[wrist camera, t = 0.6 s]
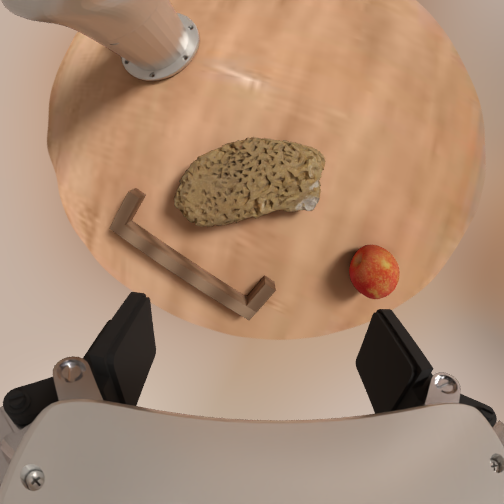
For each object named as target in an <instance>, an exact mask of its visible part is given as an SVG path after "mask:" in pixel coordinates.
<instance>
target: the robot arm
mask: <svg viewBox="0 0 504 504" xmlns="http://www.w3.org/2000/svg"><path fill="white" fill-rule="evenodd" d="M2 3H3V4H4V6H5V7H6V8H7V9H8V10H9V11H10V12H12V13H14V14H15V15H17V16H20V17H23V18H26V19H29V20H33V21H39V22H47V23H54V24H59V25H63V26H66V27H69V28H72V29H74V30H76V31H78V32H80V33H82V34H84V35H86V36H88V37H89V38H91V39H93V40H95V41H96V42H98V43H100V44H102V45H103V46H105V47H107V48H108V49H110V50H112V51H113V52H115V53H117V54H118V55H120V56H121V59H122V63H123V65H124V67H125V69H126V70H127V71H128V73H130V74H131V75H133V76H134V77H136V78H138V79H141V80H145V81H157V80H162V79H166V78H168V77H171V76H173V75H175V74H177V73H178V72H180V71H181V70H182V69H184V68H185V67H186V66H187V65H188V64H189V63H190V62H191V61H192V59H193V58H194V56H195V54H196V52H197V50H198V47H199V41H200V39H199V32H198V29H197V27H196V25H195V24H194V22H193V21H192V20H191V19H190V18H188V17H187V16H185V15H183V14H180V13H176V11H175V9H174V8H173V6H172V4H171V3H170V1H169V0H2ZM191 29H192V30H191ZM186 58H188V59H187V60H185V59H186ZM128 62H129V63H128ZM153 75H155V76H154V77H153ZM155 354H156V346H155V338H154V331H153V322H152V314H151V304H150V298H148V297H146V295H145V294H144V293H137V292H131V293H130V294H129V296H128V297H127V299H126V300H125V301H124V303H123V304H122V305H121V307H120V308H119V310H118V311H117V312H116V314H115V315H114V317H113V318H112V320H109V321H108V322H107V324H106V325H105V326H104V328H103V329H102V331H101V332H100V333H99V335H98V336H97V338H96V339H95V341H94V342H93V344H92V345H91V347H90V348H89V350H88V352H87V353H86V354H85V356H84V358H83V359H82V358H80V357H67V358H64V359H62V360H60V361H59V362H58V363H57V364H56V365H55V366H54V369H53V377H51V378H48V379H45V380H41V381H38V382H35V383H32V384H28V385H25V386H21V387H18V388H15V389H13V390H11V391H10V392H9V393H7V395H6V396H5V398H4V401H3V406H2V407H0V504H504V424H503V423H502V422H501V421H498V423H496V415H495V412H494V411H493V409H492V408H491V407H489V406H487V405H485V404H483V403H481V402H478V401H476V400H474V399H471V398H469V397H467V396H464V395H462V394H460V390H461V389H460V384H459V382H458V381H457V379H456V378H454V377H453V376H452V375H450V374H447V373H444V372H439V373H436V374H434V375H432V374H431V372H432V370H433V367H432V366H431V364H430V363H429V361H428V360H427V358H426V357H425V356H424V354H423V353H422V351H421V350H420V348H419V347H418V346H417V344H416V343H415V341H414V340H413V339H412V337H411V336H410V334H409V333H408V332H407V330H406V329H405V327H404V326H403V325H402V323H401V322H400V321H399V319H398V318H397V317H396V316H395V314H394V313H393V312H392V310H390V309H379V310H377V312H376V313H374V314H373V315H372V318H371V321H370V324H369V327H368V330H367V332H366V335H365V338H364V341H363V343H362V346H361V349H360V351H359V353H358V356H357V359H356V367H357V370H358V372H359V375H360V377H361V379H362V382H363V384H364V387H365V389H366V392H367V394H368V396H369V399H370V401H371V404H372V406H373V409H374V412H375V414H370V415H362V416H353V417H343V418H331V419H317V420H291V421H290V420H289V421H287V420H286V421H272V420H270V421H268V420H241V419H225V418H213V417H204V416H195V415H187V414H180V413H173V412H166V411H159V410H154V409H148V408H143V407H138V406H136V405H137V402H138V399H139V397H140V394H141V391H142V388H143V386H144V383H145V381H146V378H147V375H148V373H149V370H150V368H151V365H152V362H153V360H154V357H155Z"/></svg>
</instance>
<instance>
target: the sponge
mask: <svg viewBox="0 0 504 504" xmlns="http://www.w3.org/2000/svg"><path fill="white" fill-rule="evenodd" d="M324 165H325V158H324V156H323V155H322V154H321V153H320V151H318V150H316V149H314V148H312V147H309V146H304V145H301V144H298V143H293V142H288V141H284V140H283V141H279V140H272V139H265V138H264V139H259V138H250V139H249V138H246V139H245V140H241V141H237V142H232V143H227V144H225V145H223V146H222V148H218V149H215V150H212V151H210V152H208V153H206V154H204V155H202V156H199V157H198V158H197V160H195V161H194V162H193V163H192V164H191V165H190V168H189V169H188V170H186V172H185V174H184V176H182V179H181V180H180V181H179V182H180V186H179V187H178V190H177V193H176V195H175V197H174V201H175V203H174V205H175V207H176V208H178V209H179V210H180V211H181V212H182V214H183V216H184V217H186V218H187V219H188V220H189V221H190V222H191V223H194V222H195V225H196V226H200V227H205V226H207V227H213V226H214V225H217V226H221V225H227V224H231V223H233V222H236V223H237V222H239V221H240V220H243V219H245V218H250V217H254V218H258V217H260V216H262V215H265V214H268V213H270V212H273V211H275V210H283V211H286V212H292V211H300V210H306V211H312V210H313V209H314V208H315V206H316V204H317V203H318V201H319V198H320V191H321V190H320V186H321V185H320V182H319V180H320V178H321V173H322V170H324Z"/></svg>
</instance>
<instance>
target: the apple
mask: <svg viewBox="0 0 504 504" xmlns="http://www.w3.org/2000/svg"><path fill="white" fill-rule="evenodd" d="M349 274H350V279H351V282H352V283H353V285H354V287H355V288H356V289H357V290H358V291H359V292H360V293H362V294H363V295H365V296H366V297H368V298H371V299H380V298H383V297H386V296H387V295H389V294H390V293H391V292H392V291H393V290H394V289H395V287H396V285H397V283H398V280H399V267H398V264H397V262H396V260H395V258H394V257H393V256H392V254H391V253H390V252H388V251H387V250H385V249H384V248H382V247H379V246H376V245H365V246H363V247H361V248H360V249H359V250H358V251H357V252H356V253H355V255H354V257H353V259H352V261H351V263H350V268H349Z"/></svg>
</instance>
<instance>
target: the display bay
mask: <svg viewBox="0 0 504 504" xmlns="http://www.w3.org/2000/svg"><path fill="white" fill-rule="evenodd" d="M145 196H146V195H145V194H144V193H143V192H141V191H140V190H138V189H137V188H135V189H133V190H130V191H129V192H128V193H127V195H126V197H125V199H124V201H123V203H122V205H121V207H120V209H119V211H118V213H117V215H116V217H115V219H114V221H113V223H112V225H111V227H110V229H111V230H112V231H113V232H115V233H116V234H117V235H119V236H120V237H122V238H123V239H124V240H126V241H127V242H129V243H130V244H132V245H133V246H134V247H136V248H137V249H139V250H140V251H142V252H143V253H144V254H146V255H147V256H149V257H150V258H152V259H153V260H155V261H156V262H158V263H159V264H161V265H162V266H163V267H165V268H166V269H168V270H169V271H171V272H172V273H174V274H176V275H177V276H179V277H180V278H182V279H183V280H185V281H186V282H188V283H189V284H191V285H192V286H194V287H196V288H197V289H199V290H200V291H202V292H203V293H205V294H207V295H208V296H210V297H211V298H213V299H215V300H216V301H218V302H219V303H221V304H223V305H224V306H226V307H228V308H229V309H231V310H232V311H234V312H236V313H237V314H239V315H241V316H242V317H244V318H246V319H247V320H250V319H251V318H252V317H253V316H254V315H255V314H256V312H257V311H258V310H259V309H260V308H261V307H262V306H263V305H264V303H265V302H266V301H267V300H268V299H269V298H270V297H271V295H272V294H273V293H274V292H275V291H276V289H275V283H274V281H272V280H271V279H269V278H268V277H266V276H264V277H263V278H262V279H261V280H260V282H259V283H258V284H257V285H256V286H255V288H254V289H253V290H252V291H251V292H250V294H249V295H248V296H247V297H246V296H244V295H243V294H241V293H240V292H238V291H236V290H235V289H233V288H232V287H230V286H229V285H227V284H225V283H224V282H222V281H221V280H219V279H218V278H216V277H215V276H213V275H211V274H210V273H208V272H207V271H205V270H204V269H202V268H201V267H199V266H198V265H196V264H195V263H193V262H192V261H190V260H189V259H187V258H186V257H184V256H183V255H181V254H180V253H178V252H177V251H175V250H174V249H172V248H171V247H169V246H168V245H166V244H165V243H163V242H162V241H161V240H159V239H158V238H156V237H155V236H153V235H152V234H150V233H149V232H148V231H146V230H145V229H143V228H142V227H140V226H139V225H138V224H136V223H135V222H133V221H132V219H133V217H134V215H135V214H136V212H137V210H138V208H139V206H140V205H141V203H142V201H143V199H144V198H145Z"/></svg>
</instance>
